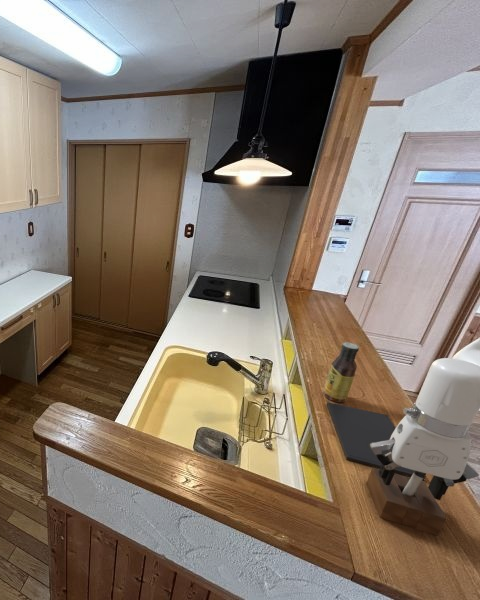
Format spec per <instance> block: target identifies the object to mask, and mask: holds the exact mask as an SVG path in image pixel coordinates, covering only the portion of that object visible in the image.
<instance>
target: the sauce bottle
mask: <svg viewBox="0 0 480 600" xmlns="http://www.w3.org/2000/svg"><path fill="white" fill-rule="evenodd" d="M359 349H360V346H359V345H358V344H355V343H353V342H347V341H346V342H343V343H342V344H341V350H340V353H339V354H338V355H337V357H335V359H334V360H333V361H332V362H331V364H330V368H329V371H328V374H327V377H326V381H325V384H324V386H323V396H324V397H325V398H326V399H327V400H329V401H332V402H336V403H344V402H345V401H346V400H347V398H348V396H349V393H350V391H351V387H352V385H353V382H354V379H355V375H356V371H357V368H358V367H357V366H358V365H357V362H356V356H357V353H358V352H359V351H360V350H359Z"/></svg>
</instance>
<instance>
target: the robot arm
mask: <svg viewBox="0 0 480 600" xmlns="http://www.w3.org/2000/svg"><path fill="white" fill-rule="evenodd" d="M479 410H480V337H478V338H477V339H475V340H474V341H472V342H470V343H469V344H467V345H465V346H464V347H462V348H461V349H460V350H459V351H457V352H456V353H455V354H454V355H453V356H452V357H443V358H438V359H436V360H434V361H433V362H432V363H431V364H430V367H429V369H428V371H427V374H426V376H425V379H424V381H423V384H422V386H421V389H420V391H419V393H418V396H417V398H416V400H415V402H414V403H412V407H403V409H402V413H403V414H404V415H405V416H403V418H402V419H401V420H400V421H399V422H398V424H397V425H396V426H395V430H394V432H393V433H392V435H391V437H390V439H389V440H386V441H381V442H376V443H371V444H370V447H371V449H372V451H373V452H374V454H375V455H376V456H377V458H378V460H379V461H380V462H381V463H382V465H381V467H380V470H379V476H380V477H381V478H382V480H383V482H384V484H385V485H390V483H391V481H392V478H393V476H394V474H396V473H395V472H394V470H393V469H394V468H396V467H398V466H401V467H404V468H408V469H411V470H415V471H419V472H423V473H426V475H430V476H432V477H431V480H430V482H429V483H428V484H429V485H427V486H428V488H429V490H430V492H431V493H432V495H433V497H434V498H435V499H436V501H441V500H442V497H443V496H444V495H446V493H447V491H448V488H449V487H450V488H453V487H454V486H455V484H459V483H464V482H466V481H467V480H470V479H474V478H478V477H479V476H480V473H478V472H477V470H476V469H475V468H474V467H473V466H472V465H471V464H469V463H468V461H469V457H470V453H471V448H472V439H473V437H472V436H471V434H470V433H469V430H470V428H471V426H472V425H473V422H474V420H475V418H476V417H477V414H478V412H479ZM383 450H389V451H390V452H389V453H387V454H385V455H384V454H383V453H382V452H381V451H383ZM392 459H393V460H392ZM391 460H392V461H391Z"/></svg>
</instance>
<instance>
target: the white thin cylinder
mask: <svg viewBox="0 0 480 600" xmlns="http://www.w3.org/2000/svg"><path fill="white" fill-rule="evenodd" d="M426 475H427V474H426V473H423V472H419V471H414V473H413V475H412V477H409V478H410V480H409V482H408V483H407V485H406V487H405V488H404V490H403V492H402V494H406V495H409V496H413V494H414V493H415V491H416V489H417V488H418V486H419V485H420V483H421V481H423V478H424V477H425V478H426Z"/></svg>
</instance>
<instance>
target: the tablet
mask: <svg viewBox="0 0 480 600" xmlns="http://www.w3.org/2000/svg"><path fill="white" fill-rule="evenodd" d="M325 405H326V408H327V410H328V413H329V416H330V418H331V422H332V424H333V427H334V429H335V432H336V435H337V438H338V440H339V443H340V446H341V449H342V451H343V455H344V457H345V460H346V461H350V462H353V463H356V464H361V465H364V466H367V467H372V468H376V469H380V467H381V465H382V463H381V462H380V461H379V460H378V458H377V456H376V455H375V454H374V452H373V451H372V449H371V447H370V444H371V443H376V442H381V441H386V440H389V439H390V437H391V435H392V433H393V432H394V430H395V428H396V426H395V425H394V422H392V420H391V418H390V416H389V415H388V414H384V413H380V412H376V411H370V410H365V409H361V408H356V407H352V406H347V405H343V404H338V403H333V402H330V401H327V402H326V404H325ZM381 452H382V453H383V454H384V455H385V454H387V453H389V452H390V451H389V450H383V451H381ZM392 460H393V459H392ZM392 460H391V461H392ZM393 470H394V472H395V474H399V475H402V476H406V477H409V478H411V477H412V475H413V473H414V471H415V470H411V469H408V468H404V467H401V466H398V467H396V468H394V469H393ZM425 479H426V476H425V477H424V478H423V480H422V481H424V482H425Z"/></svg>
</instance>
